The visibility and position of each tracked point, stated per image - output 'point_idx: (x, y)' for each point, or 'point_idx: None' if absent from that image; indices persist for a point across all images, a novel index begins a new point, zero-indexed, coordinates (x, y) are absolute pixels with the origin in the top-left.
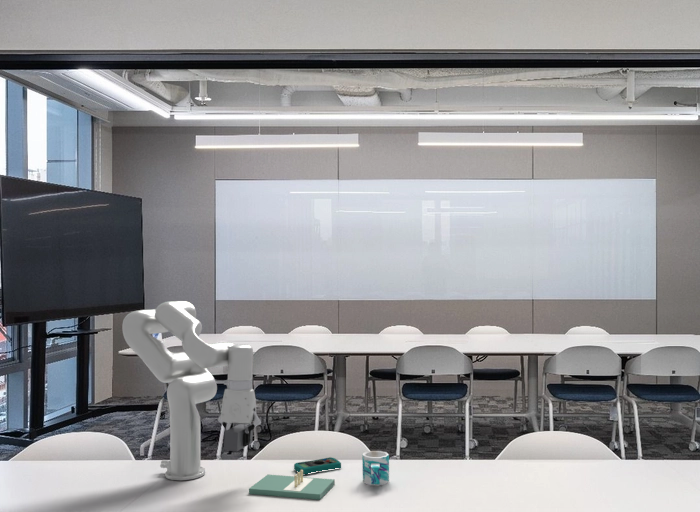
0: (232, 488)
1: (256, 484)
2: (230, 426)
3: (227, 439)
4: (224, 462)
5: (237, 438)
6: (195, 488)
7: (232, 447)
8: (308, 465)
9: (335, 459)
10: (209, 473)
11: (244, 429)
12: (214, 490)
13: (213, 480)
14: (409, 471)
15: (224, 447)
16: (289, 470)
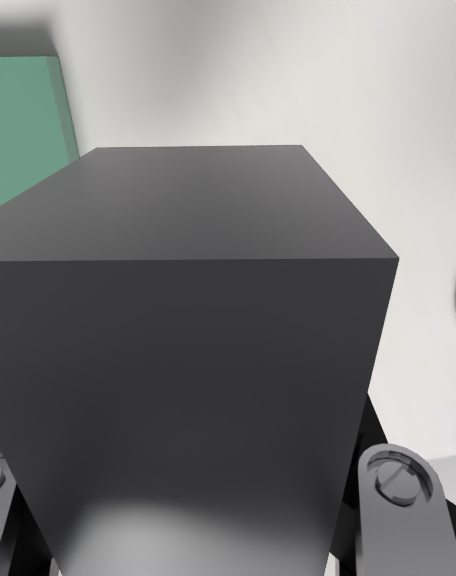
0: (215, 133)
1: (53, 155)
2: (357, 563)
3: (262, 187)
4: (407, 444)
5: (9, 201)
6: (448, 69)
7: (167, 158)
8: None
9: None
10: (434, 322)
11: (7, 515)
12: (309, 63)
13: (380, 235)
14: None
15: (302, 153)
16: None
